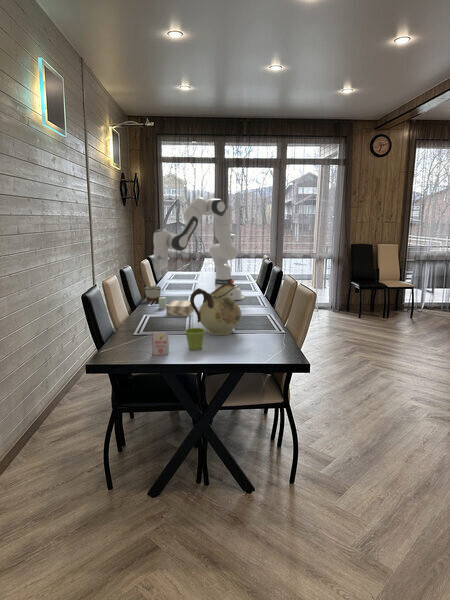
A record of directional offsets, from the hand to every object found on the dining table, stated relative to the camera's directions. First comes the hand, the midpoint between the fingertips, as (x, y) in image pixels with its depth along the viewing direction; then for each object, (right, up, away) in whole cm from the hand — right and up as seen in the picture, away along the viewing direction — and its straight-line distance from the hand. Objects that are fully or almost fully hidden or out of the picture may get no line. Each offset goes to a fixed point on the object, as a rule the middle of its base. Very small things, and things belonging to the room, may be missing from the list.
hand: (161, 276), depth 272 cm
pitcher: (+38, -33, -51) cm, 71 cm away
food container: (-9, -16, +27) cm, 33 cm away
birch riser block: (+13, -23, -7) cm, 27 cm away
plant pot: (+27, -38, -76) cm, 89 cm away
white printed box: (+12, -40, -83) cm, 93 cm away
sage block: (0, -21, +5) cm, 21 cm away
